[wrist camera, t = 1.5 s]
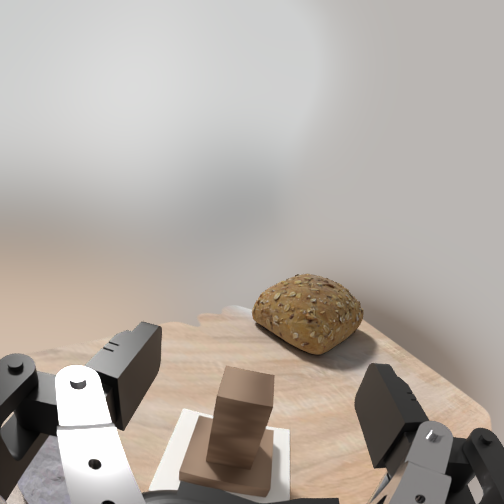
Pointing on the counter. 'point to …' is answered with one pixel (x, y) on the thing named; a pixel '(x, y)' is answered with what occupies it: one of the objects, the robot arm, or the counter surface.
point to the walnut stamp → (234, 437)
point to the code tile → (279, 491)
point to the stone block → (45, 476)
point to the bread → (309, 312)
